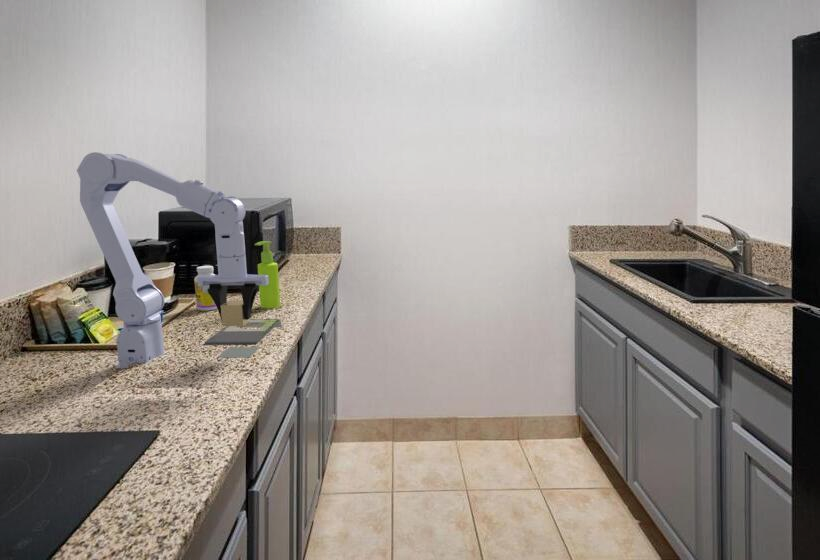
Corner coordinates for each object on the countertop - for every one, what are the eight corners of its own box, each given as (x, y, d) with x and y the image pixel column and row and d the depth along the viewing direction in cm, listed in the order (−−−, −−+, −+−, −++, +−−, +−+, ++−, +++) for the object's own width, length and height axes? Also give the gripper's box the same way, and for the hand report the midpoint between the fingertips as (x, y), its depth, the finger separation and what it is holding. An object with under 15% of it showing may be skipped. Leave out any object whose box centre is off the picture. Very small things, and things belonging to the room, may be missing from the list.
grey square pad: (250, 364, 115) (249, 357, 115) (217, 364, 116) (216, 357, 115) (260, 353, 122) (260, 347, 122) (229, 353, 123) (229, 347, 122)
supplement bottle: (196, 307, 168) (192, 266, 166) (218, 305, 171) (215, 264, 168) (197, 312, 162) (193, 269, 160) (221, 309, 165) (217, 267, 162)
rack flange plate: (257, 350, 125) (256, 341, 124) (205, 350, 125) (204, 342, 125) (281, 326, 144) (280, 319, 144) (236, 326, 145) (235, 319, 145)
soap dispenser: (253, 308, 166) (249, 242, 162) (269, 303, 172) (265, 239, 168) (268, 310, 163) (264, 243, 159) (284, 305, 169) (280, 240, 165)
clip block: (243, 326, 115) (241, 305, 114) (222, 326, 115) (220, 305, 115) (250, 320, 120) (248, 300, 119) (229, 320, 120) (228, 300, 119)
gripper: (271, 252, 118) (274, 313, 121) (205, 253, 119) (210, 314, 122) (261, 257, 111) (265, 321, 114) (191, 258, 112) (196, 322, 115)
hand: (236, 318), depth 117 cm, fingers closed on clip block, 4 cm apart
